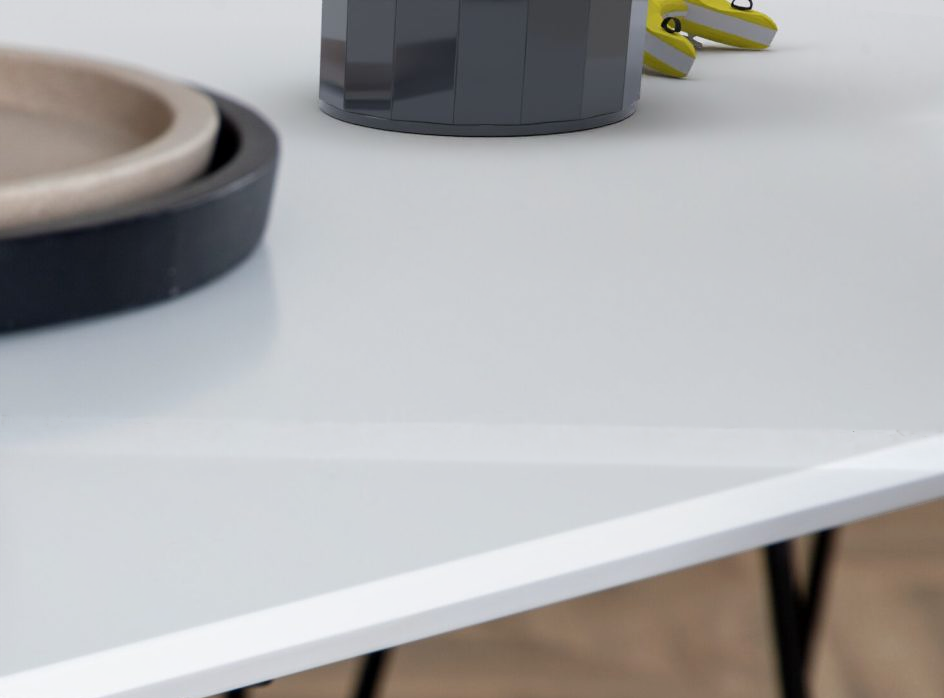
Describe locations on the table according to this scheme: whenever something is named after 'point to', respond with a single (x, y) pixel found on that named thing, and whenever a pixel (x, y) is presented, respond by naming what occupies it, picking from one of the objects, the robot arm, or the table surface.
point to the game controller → (700, 31)
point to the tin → (481, 64)
